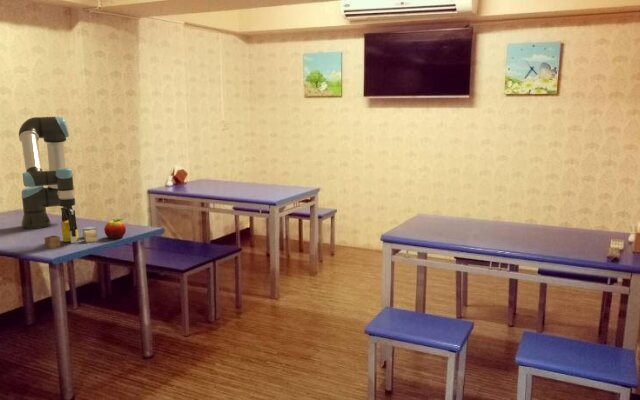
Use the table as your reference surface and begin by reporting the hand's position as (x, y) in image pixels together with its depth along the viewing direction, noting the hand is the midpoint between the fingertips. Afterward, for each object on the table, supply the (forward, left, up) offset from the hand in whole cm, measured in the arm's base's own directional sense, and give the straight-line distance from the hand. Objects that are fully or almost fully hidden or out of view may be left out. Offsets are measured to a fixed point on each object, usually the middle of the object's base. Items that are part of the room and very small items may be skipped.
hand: (70, 240), depth 273 cm
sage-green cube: (-3, +11, 0) cm, 11 cm away
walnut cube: (+4, -10, 0) cm, 11 cm away
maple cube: (+6, +8, 0) cm, 10 cm away
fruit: (+9, +20, -1) cm, 22 cm away
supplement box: (0, 0, -1) cm, 1 cm away
